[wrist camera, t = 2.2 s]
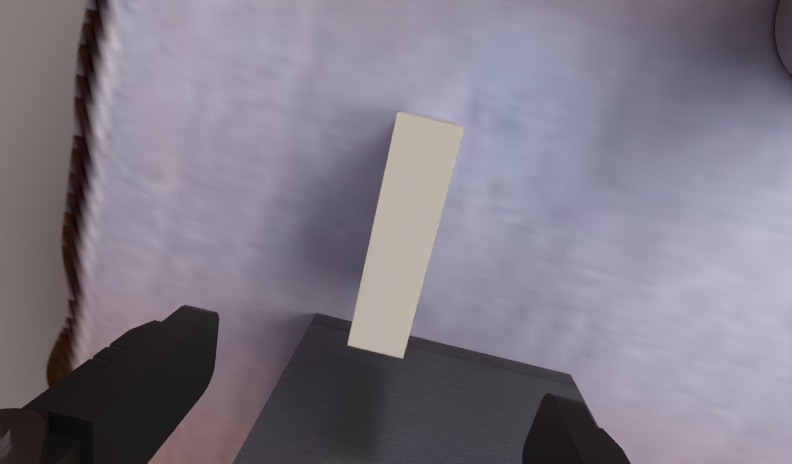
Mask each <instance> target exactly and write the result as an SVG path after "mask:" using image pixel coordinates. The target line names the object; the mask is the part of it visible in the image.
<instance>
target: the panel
mask: <svg viewBox="0 0 792 464" xmlns="http://www.w3.org/2000/svg"><path fill="white" fill-rule="evenodd" d="M464 129H465V127H462V126H460V125H458V124H455V123H453V122H449V121H445V120H440V119H436V118H432V117H428V116H423V115H419V114H415V113H411V112H397V116H396V121H395V126H394V130H393V135H392V140H391V144H390V149H389V154H388V158H387V163H386V168H385V172H384V177H383V181H382V186H381V191H380V195H379V200H378V205H377V209H376V214H375V219H374V223H373V228H372V233H371V237H370V242H369V247H368V251H367V256H366V261H365V265H364V270H363V274H362V279H361V284H360V288H359V293H358V298H357V302H356V307H355V312H354V316H353V321H352V326H351V330H350V335H349V340H348V344H347V345H348V346H353V347H357V348H361V349H365V350H369V351H373V352H377V353H381V354H386V355H390V356H394V357H398V358H402V359H403V357H404V353H405V349H406V346H407V342H408V338H409V334H410V331H411V327H412V323H413V319H414V316H415V312H416V308H417V305H418V301H419V297H420V293H421V290H422V286H423V282H424V278H425V275H426V271H427V267H428V264H429V260H430V256H431V252H432V249H433V245H434V241H435V237H436V234H437V230H438V226H439V223H440V219H441V215H442V211H443V208H444V204H445V200H446V196H447V193H448V189H449V185H450V182H451V178H452V174H453V170H454V167H455V163H456V159H457V155H458V152H459V148H460V144H461V141H462V137H463V133H464Z"/></svg>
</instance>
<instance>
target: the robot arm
mask: <svg viewBox="0 0 792 464" xmlns="http://www.w3.org/2000/svg"><path fill="white" fill-rule="evenodd" d="M775 38H776V45H777V51H778V53H779V56H780V58H781V60H782V62H783V65H784V66H785V68H786V69H787V70H788V71H789V73H790V74H791V75H792V0H780V3H779V6H778V10H777V14H776V23H775ZM218 327H219V316H218V313H217V312H213V311H209V310H205V309H200V308H196V307H192V306H188V305H184V306H182V307H180V308H179V309H178V310H176V311H175V312H174V313H172V314H171V315H170V316H169V317H167V318H166V319H165V320H163V321H162V322H160V321H156V320H154V321H151V322H149V323H146V324H144V325H141V326H138V327H136V328H133V329H131V330H129V331H127V332H126V333H125V334H123V335H122V336H121V337H119V338H118V339H116V340H115V341H114V342H112V343H111V344H110V346H109V347H105V348H104V349H103V350H101V351H100V352H99V353H97V354H96V355H94V357H93V359H89V360H87V361H86V362H85V363H83V364H82V365H81V366H79V367H78V368H76V369H75V370H74V371H72V372H71V373H70V374H68V375H67V376H65V377H64V378H63V379H61V380H60V381H59V382H57V383H56V384H54V385H53V386H52V387H50V388H49V389H47V390H46V391H45V392H43V393H42V394H41V395H39V396H38V397H36V398H35V399H34V400H32V401H31V402H30V403H28V404H27V405H25V406H24V407H23V408H21V409H20V408H6V409H0V464H147V463H148V462H149V461H150V459H151V458H152V457H153V456H154V454H155V453H156V452H157V451H158V449H159V448H160V447H161V446H162V444H163V443H164V442H165V441H166V440H167V438H168V437H169V436H170V435H171V433H172V432H173V431H174V430H175V428H176V427H177V426H178V425H179V423H180V422H181V421H182V420H183V418H184V417H185V416H186V415H187V413H188V412H189V411H190V410H191V408H192V407H193V406H194V405H195V403H196V402H197V401H198V400H199V398H200V397H201V396H202V395H203V393H204V392H205V390H206V389H207V387H208V385H209V383H210V380H211V378H212V375H213V372H214V367H215V358H216V348H217V337H218ZM522 464H631V463H630V462H629V460H628V458H627V456H626V455H625V453H624V451H623V450H622V448H621V447H620V446H619V445H618V444H617V443H616V442H615V441H614V440H613V439H612V438H611V437H610V436H609V435H608V434H607V433H606V432H605V431H604V429H602V428H598V427H597V426H596V425H595V423H594V421H593V419H592V417H591V415H590V413H589V412H588V410H587V408H586V406H585V404H584V403H583V402H582V401H581V400H577V399H573V398H569V397H565V396H561V395H556V394H552V393H547V394H545V395H544V397H543V398H542V401H541V403H540V405H539V408H538V410H537V413H536V415H535V418H534V420H533V423H532V425H531V428H530V430H529V433H528V435H527V438H526V440H525V443H524V447H523V453H522Z"/></svg>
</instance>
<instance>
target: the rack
mask: <svg viewBox="0 0 792 464" xmlns="http://www.w3.org/2000/svg"><path fill="white" fill-rule="evenodd" d="M351 326H352V322H350V321H346V320H342V319H338V318H334V317H329V316H325V315H321V314H317V313H316V315H315V317H314V319H313V321H312V322H311V324H310V326H309V328H308V330H307V331H306V333H305V335H304V337H303V338H302V340H301V342H300V344H299V346H298V347H297V349H296V351H295V353H294V355H293V356H292V358H291V360H290V362H289V363H288V365H287V367H286V369H285V371H284V372H283V374H282V376H281V378H280V380H279V381H278V383H277V385H276V387H275V388H274V390H273V392H272V394H271V396H270V397H269V399H268V401H267V403H266V405H265V406H264V408H263V410H262V412H261V413H260V415H259V417H258V419H257V421H256V422H255V424H254V426H253V428H252V430H251V431H250V433H249V435H248V437H247V438H246V440H245V442H244V444H243V446H242V447H241V449H240V451H239V453H238V455H237V456H236V458H235V460H234V462H233V463H232V464H522V453H523V447H524V443H525V440H526V438H527V435H528V433H529V430H530V428H531V425H532V423H533V420H534V418H535V415H536V413H537V410H538V408H539V405H540V403H541V401H542V398H543V397H544V395H545V394H547V393H552V394H556V395H561V396H565V397H569V398H573V399H577V400H581V401H582V402H583V403H584V404H585V406H586V408H587V410H588V412H589V413H590V415H591V417H592V419H593V421H594V423H595V425H596V426H597V427H598V425H597V423H596V421H595V419H594V418H593V416H592V414H591V412H590V410H589V408H588V406H587V405H586V403H585V401H584V399H583V397H582V395H581V393H580V392H579V390H578V388H577V386H576V384H575V382H574V380H573V379H572V377H571V375H569V374H565V373H561V372H557V371H553V370H549V369H545V368H540V367H536V366H532V365H528V364H524V363H520V362H516V361H511V360H507V359H503V358H499V357H495V356H491V355H487V354H482V353H478V352H474V351H470V350H466V349H462V348H458V347H454V346H449V345H445V344H441V343H437V342H433V341H429V340H425V339H420V338H416V337H412V336H409V338H408V342H407V346H406V349H405V353H404V357H403V359H402V358H398V357H394V356H390V355H386V354H381V353H377V352H373V351H369V350H365V349H361V348H357V347H353V346H348V345H347V344H348V340H349V335H350V330H351ZM598 428H599V427H598Z"/></svg>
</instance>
